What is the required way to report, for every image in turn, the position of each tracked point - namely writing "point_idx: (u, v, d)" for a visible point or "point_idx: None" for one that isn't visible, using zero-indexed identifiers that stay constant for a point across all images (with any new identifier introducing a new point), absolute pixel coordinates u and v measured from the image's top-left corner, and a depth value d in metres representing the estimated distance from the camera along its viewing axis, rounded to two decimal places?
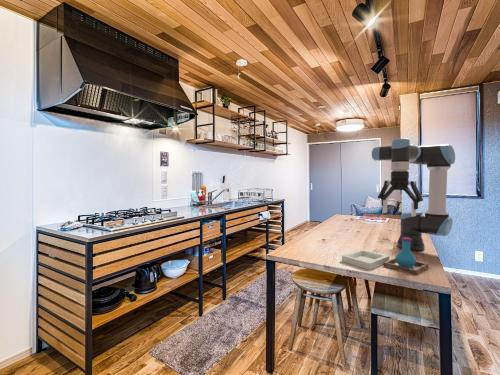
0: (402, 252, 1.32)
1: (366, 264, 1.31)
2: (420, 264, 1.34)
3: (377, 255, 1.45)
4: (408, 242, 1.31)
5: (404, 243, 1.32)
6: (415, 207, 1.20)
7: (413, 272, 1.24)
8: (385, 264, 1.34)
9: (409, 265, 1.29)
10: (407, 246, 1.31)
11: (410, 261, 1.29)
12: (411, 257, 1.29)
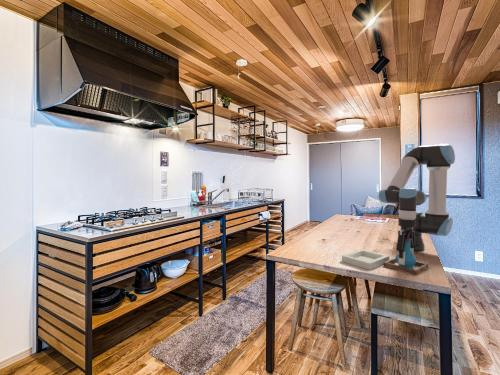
0: None
1: (366, 264, 1.31)
2: (420, 264, 1.34)
3: (377, 255, 1.45)
4: (408, 242, 1.31)
5: None
6: None
7: (413, 272, 1.24)
8: (385, 264, 1.34)
9: (409, 265, 1.29)
10: (407, 246, 1.31)
11: (410, 261, 1.29)
12: (411, 257, 1.29)
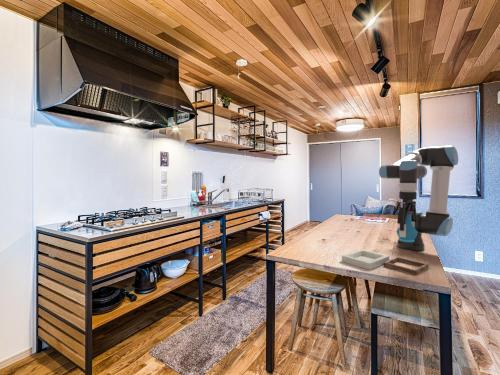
0: None
1: (366, 264, 1.31)
2: (420, 264, 1.34)
3: (377, 255, 1.45)
4: (409, 215, 1.30)
5: None
6: None
7: (413, 272, 1.24)
8: (385, 264, 1.34)
9: (410, 237, 1.29)
10: (408, 219, 1.30)
11: (411, 233, 1.28)
12: (412, 229, 1.29)
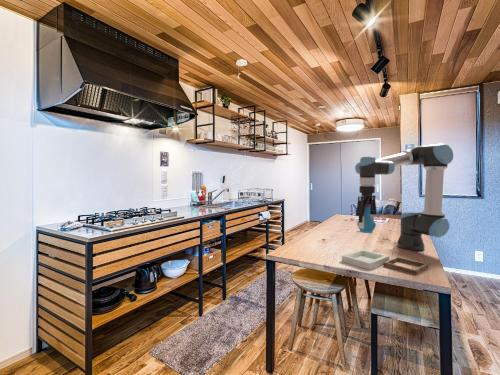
0: None
1: (366, 264, 1.31)
2: (420, 264, 1.34)
3: (377, 255, 1.45)
4: (368, 208, 1.39)
5: None
6: None
7: (413, 272, 1.24)
8: (385, 264, 1.34)
9: (368, 229, 1.37)
10: (367, 211, 1.39)
11: (369, 225, 1.37)
12: (370, 221, 1.37)
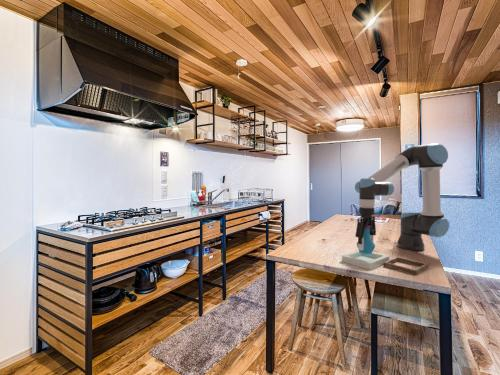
0: None
1: (366, 264, 1.31)
2: (420, 264, 1.34)
3: (377, 255, 1.45)
4: (367, 229, 1.40)
5: None
6: None
7: (413, 272, 1.24)
8: (385, 264, 1.34)
9: (368, 250, 1.38)
10: (366, 233, 1.40)
11: (368, 247, 1.37)
12: (369, 243, 1.38)
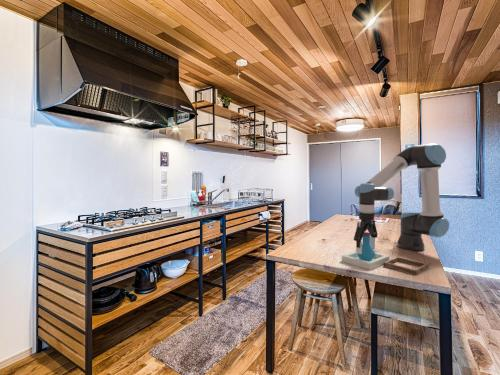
0: (362, 246, 1.41)
1: (366, 264, 1.31)
2: (420, 264, 1.34)
3: (377, 255, 1.45)
4: (367, 237, 1.40)
5: (364, 238, 1.41)
6: None
7: (413, 272, 1.24)
8: (385, 264, 1.34)
9: (368, 258, 1.38)
10: (366, 240, 1.40)
11: (368, 254, 1.37)
12: (370, 251, 1.38)
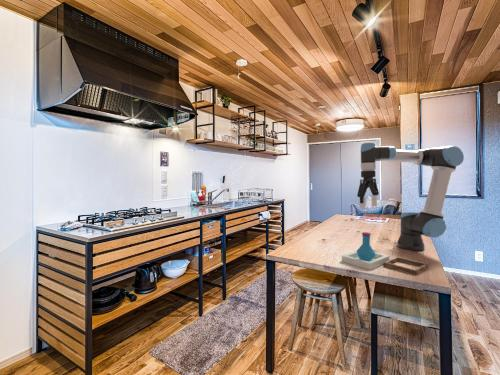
0: (362, 246, 1.41)
1: (366, 264, 1.31)
2: (420, 264, 1.34)
3: (377, 255, 1.45)
4: (367, 237, 1.40)
5: (364, 238, 1.41)
6: None
7: (413, 272, 1.24)
8: (385, 264, 1.34)
9: (368, 258, 1.38)
10: (366, 240, 1.40)
11: (368, 254, 1.37)
12: (370, 251, 1.38)
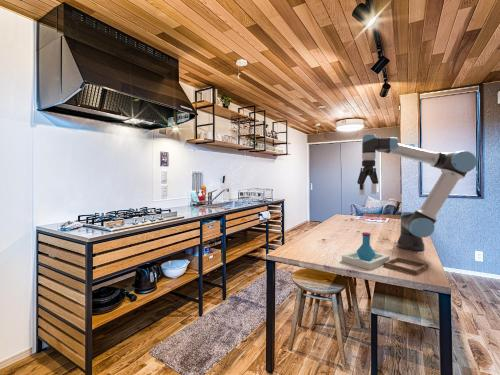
0: (362, 246, 1.41)
1: (366, 264, 1.31)
2: (420, 264, 1.34)
3: (377, 255, 1.45)
4: (367, 237, 1.40)
5: (364, 238, 1.41)
6: None
7: (413, 272, 1.24)
8: (385, 264, 1.34)
9: (368, 258, 1.38)
10: (366, 240, 1.40)
11: (368, 254, 1.37)
12: (370, 251, 1.38)
